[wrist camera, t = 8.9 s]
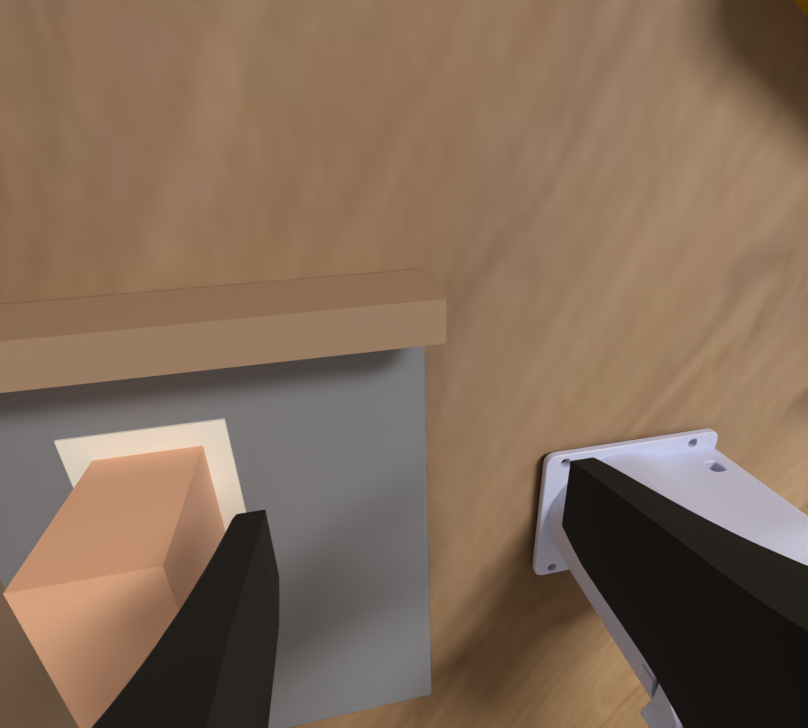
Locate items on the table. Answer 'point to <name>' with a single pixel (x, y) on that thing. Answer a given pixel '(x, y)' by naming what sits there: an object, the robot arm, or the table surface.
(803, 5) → the element tile
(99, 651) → the block
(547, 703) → the table surface
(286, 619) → the arena
